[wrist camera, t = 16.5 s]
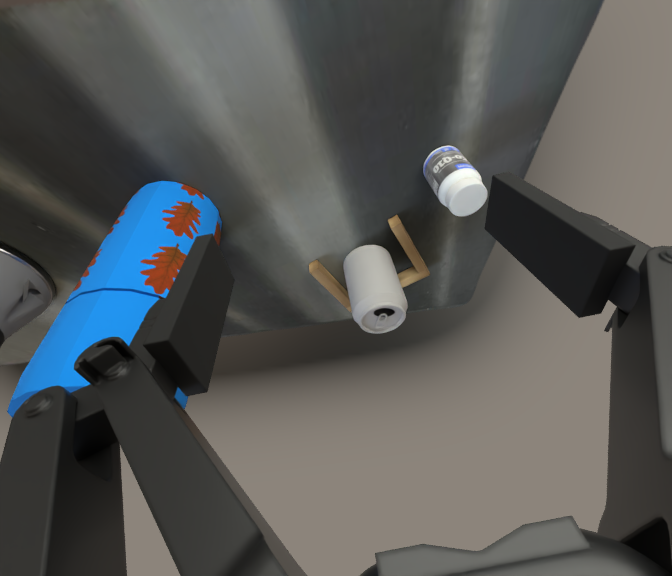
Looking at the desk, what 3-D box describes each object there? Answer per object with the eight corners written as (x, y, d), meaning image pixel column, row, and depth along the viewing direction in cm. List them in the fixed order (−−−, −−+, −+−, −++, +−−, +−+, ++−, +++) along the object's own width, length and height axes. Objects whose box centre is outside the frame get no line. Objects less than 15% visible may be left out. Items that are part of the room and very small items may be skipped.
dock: (348, 303, 56) (350, 312, 55) (308, 263, 48) (309, 272, 46) (426, 266, 51) (430, 274, 50) (397, 214, 43) (400, 222, 42)
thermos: (147, 160, 34) (15, 368, 17) (238, 210, 40) (206, 403, 23) (118, 227, 39) (-4, 434, 22) (201, 262, 45) (154, 448, 28)
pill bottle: (458, 137, 36) (491, 172, 30) (462, 172, 39) (492, 209, 34) (418, 155, 37) (443, 192, 31) (425, 187, 40) (449, 226, 35)
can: (396, 243, 47) (420, 304, 39) (380, 278, 52) (399, 338, 44) (349, 238, 45) (363, 301, 37) (337, 275, 50) (348, 336, 42)
